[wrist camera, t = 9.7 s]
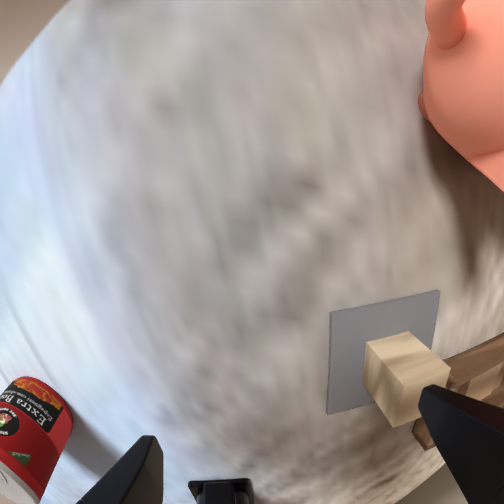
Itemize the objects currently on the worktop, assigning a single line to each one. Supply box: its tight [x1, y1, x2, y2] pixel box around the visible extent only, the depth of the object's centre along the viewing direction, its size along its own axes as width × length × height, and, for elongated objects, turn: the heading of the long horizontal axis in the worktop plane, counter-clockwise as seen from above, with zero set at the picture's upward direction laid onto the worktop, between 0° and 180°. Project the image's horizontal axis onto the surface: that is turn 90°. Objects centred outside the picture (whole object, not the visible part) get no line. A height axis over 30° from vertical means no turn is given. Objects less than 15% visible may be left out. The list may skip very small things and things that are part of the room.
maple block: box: [362, 331, 451, 428], centre depth 18 cm, size 4×4×6 cm
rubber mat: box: [326, 290, 440, 415], centre depth 22 cm, size 10×10×1 cm
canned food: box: [0, 377, 73, 504], centre depth 15 cm, size 8×8×11 cm
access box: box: [412, 333, 504, 451], centre depth 23 cm, size 10×16×4 cm, turn 95°
